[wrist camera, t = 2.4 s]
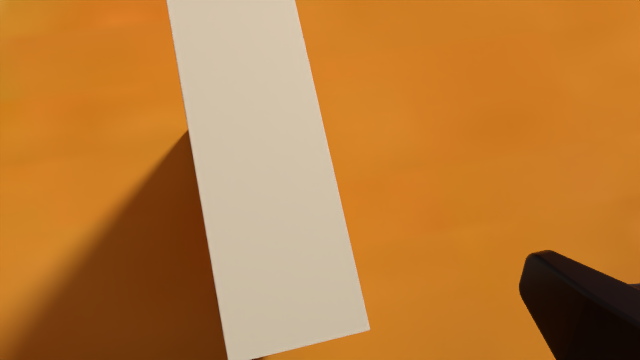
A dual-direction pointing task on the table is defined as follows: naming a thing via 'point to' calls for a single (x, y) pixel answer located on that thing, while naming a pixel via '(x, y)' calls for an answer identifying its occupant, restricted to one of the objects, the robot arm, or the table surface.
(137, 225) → the table surface
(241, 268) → the notched plate
